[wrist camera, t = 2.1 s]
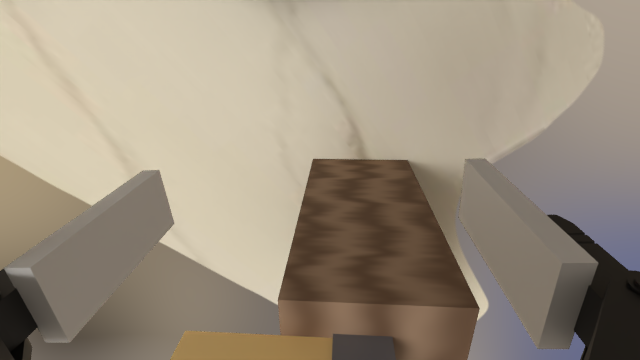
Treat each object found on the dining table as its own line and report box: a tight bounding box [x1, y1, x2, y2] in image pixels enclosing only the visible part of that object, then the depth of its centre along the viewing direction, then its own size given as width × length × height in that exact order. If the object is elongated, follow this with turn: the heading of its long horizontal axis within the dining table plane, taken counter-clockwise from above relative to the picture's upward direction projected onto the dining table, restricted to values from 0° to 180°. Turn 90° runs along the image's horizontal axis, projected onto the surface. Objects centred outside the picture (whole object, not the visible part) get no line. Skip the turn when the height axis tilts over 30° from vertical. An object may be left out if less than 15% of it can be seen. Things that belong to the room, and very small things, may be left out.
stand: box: [278, 159, 480, 360], centre depth 46 cm, size 16×24×33 cm, turn 1°
